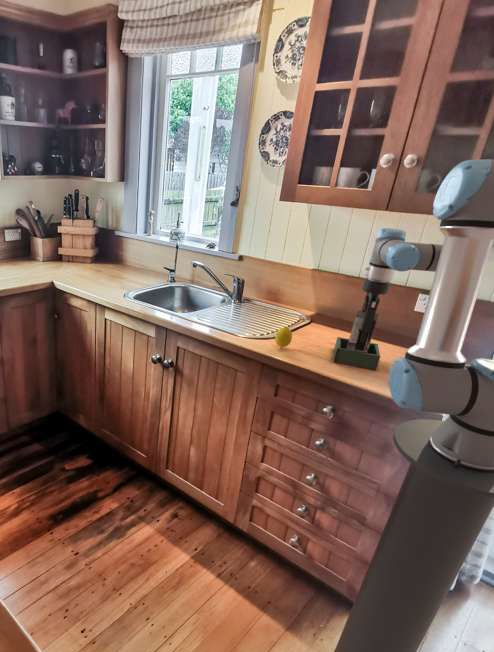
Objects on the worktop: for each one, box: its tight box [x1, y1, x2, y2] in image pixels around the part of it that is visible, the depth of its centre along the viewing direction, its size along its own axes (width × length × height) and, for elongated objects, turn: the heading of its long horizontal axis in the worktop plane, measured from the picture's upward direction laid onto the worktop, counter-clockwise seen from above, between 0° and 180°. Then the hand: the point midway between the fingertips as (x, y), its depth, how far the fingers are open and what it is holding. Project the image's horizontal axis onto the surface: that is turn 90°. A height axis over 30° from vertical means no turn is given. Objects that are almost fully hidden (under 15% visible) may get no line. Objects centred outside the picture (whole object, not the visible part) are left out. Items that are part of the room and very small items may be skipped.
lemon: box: [274, 326, 293, 349], centre depth 164 cm, size 6×6×8 cm
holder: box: [333, 336, 381, 371], centre depth 159 cm, size 12×13×5 cm
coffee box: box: [346, 310, 379, 353], centre depth 156 cm, size 9×6×16 cm
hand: (358, 344), depth 157 cm, fingers closed on coffee box, 9 cm apart
